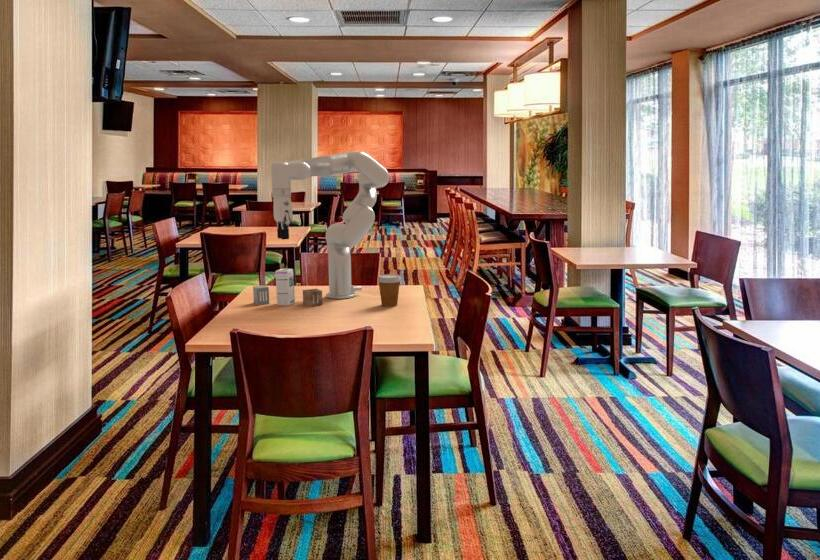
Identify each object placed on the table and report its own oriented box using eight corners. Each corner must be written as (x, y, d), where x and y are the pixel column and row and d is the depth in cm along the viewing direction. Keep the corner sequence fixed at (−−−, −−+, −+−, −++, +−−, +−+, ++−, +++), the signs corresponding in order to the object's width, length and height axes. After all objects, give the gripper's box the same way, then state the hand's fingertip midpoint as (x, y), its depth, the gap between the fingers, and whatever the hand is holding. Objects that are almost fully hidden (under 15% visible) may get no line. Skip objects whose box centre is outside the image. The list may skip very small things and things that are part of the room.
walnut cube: (316, 302, 300) (316, 288, 299) (322, 305, 295) (322, 291, 294) (303, 304, 297) (302, 290, 296) (309, 307, 292) (308, 292, 291)
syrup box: (290, 305, 294) (288, 270, 292) (276, 305, 296) (275, 270, 293) (295, 303, 300) (293, 268, 297) (281, 302, 301) (280, 268, 299)
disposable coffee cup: (398, 307, 288) (398, 278, 286) (375, 307, 290) (374, 277, 288) (403, 303, 297) (403, 274, 295) (380, 302, 299) (380, 273, 297)
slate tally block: (265, 301, 303) (264, 285, 302) (269, 304, 299) (268, 287, 297) (253, 303, 301) (253, 286, 300) (257, 305, 296) (257, 288, 295)
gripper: (297, 193, 285) (299, 240, 288) (283, 192, 299) (285, 236, 302) (279, 194, 281) (281, 241, 284) (265, 192, 295) (267, 237, 298)
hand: (283, 238), depth 293 cm, fingers open, 3 cm apart
